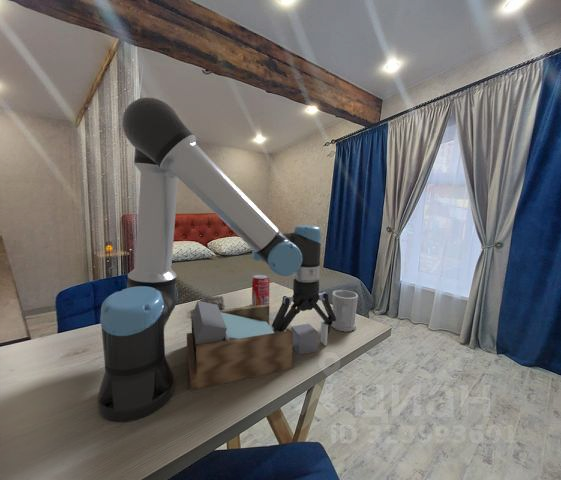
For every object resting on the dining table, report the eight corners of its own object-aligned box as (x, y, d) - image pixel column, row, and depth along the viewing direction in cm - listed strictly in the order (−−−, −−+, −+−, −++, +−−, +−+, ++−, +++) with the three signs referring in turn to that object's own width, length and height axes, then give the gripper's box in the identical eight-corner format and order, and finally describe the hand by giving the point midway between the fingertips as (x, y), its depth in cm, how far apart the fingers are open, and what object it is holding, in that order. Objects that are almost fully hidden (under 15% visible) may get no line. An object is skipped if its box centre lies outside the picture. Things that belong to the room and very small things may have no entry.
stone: (293, 334, 91) (293, 327, 91) (262, 339, 88) (263, 331, 87) (278, 316, 105) (279, 310, 105) (252, 319, 102) (252, 313, 101)
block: (298, 355, 79) (299, 335, 78) (290, 344, 84) (291, 326, 83) (317, 351, 81) (318, 332, 80) (308, 341, 86) (308, 323, 85)
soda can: (272, 305, 115) (273, 275, 113) (262, 311, 109) (262, 279, 107) (258, 301, 119) (259, 272, 117) (248, 307, 112) (248, 276, 111)
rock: (196, 307, 110) (196, 292, 109) (216, 303, 116) (216, 288, 115) (212, 319, 101) (212, 302, 100) (233, 313, 106) (233, 297, 105)
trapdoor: (196, 345, 64) (203, 325, 64) (191, 316, 79) (197, 299, 79) (281, 358, 73) (287, 340, 72) (262, 329, 88) (267, 315, 88)
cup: (364, 332, 93) (366, 298, 91) (342, 336, 90) (344, 301, 88) (346, 319, 103) (348, 288, 101) (325, 323, 99) (326, 291, 98)
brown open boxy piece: (190, 390, 63) (189, 350, 62) (186, 345, 82) (185, 314, 80) (291, 368, 72) (292, 332, 71) (267, 332, 91) (267, 304, 90)
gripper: (270, 286, 71) (269, 361, 74) (350, 278, 80) (346, 345, 83) (261, 279, 78) (261, 347, 81) (336, 272, 87) (333, 334, 90)
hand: (304, 347), depth 82 cm, fingers open, 13 cm apart
